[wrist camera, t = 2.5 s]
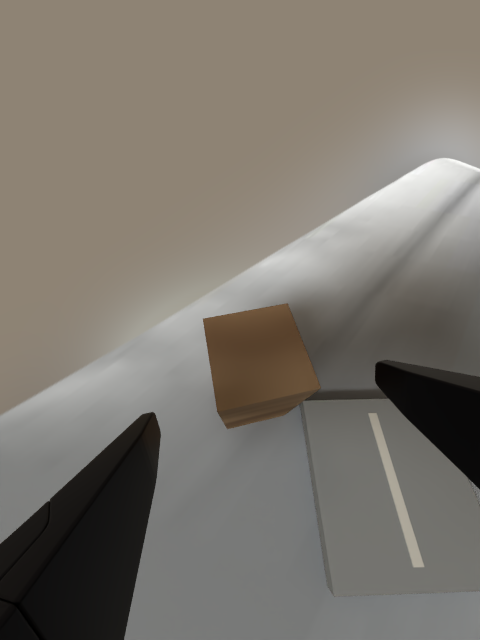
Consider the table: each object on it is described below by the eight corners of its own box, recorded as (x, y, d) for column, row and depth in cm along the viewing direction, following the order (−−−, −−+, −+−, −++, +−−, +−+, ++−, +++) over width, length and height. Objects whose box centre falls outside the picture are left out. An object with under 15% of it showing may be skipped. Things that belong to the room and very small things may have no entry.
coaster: (498, 580, 13) (519, 590, 12) (327, 586, 13) (334, 597, 12) (422, 400, 18) (432, 397, 17) (299, 402, 18) (303, 400, 17)
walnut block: (283, 415, 17) (320, 387, 9) (227, 429, 17) (217, 411, 9) (267, 361, 19) (287, 303, 12) (217, 372, 19) (202, 318, 11)
